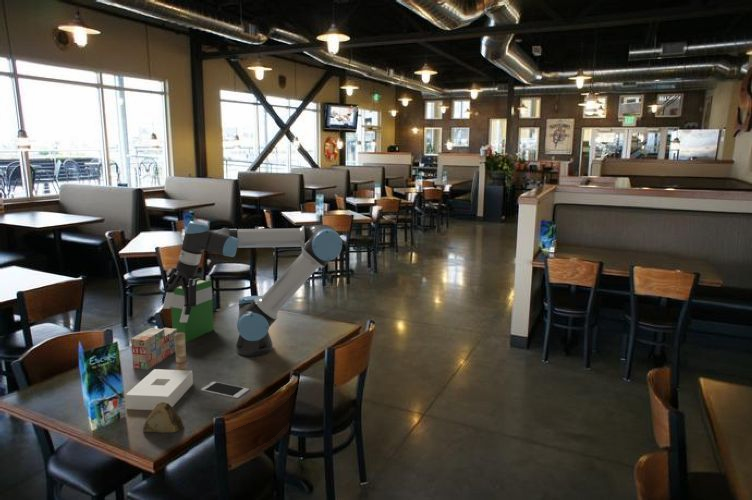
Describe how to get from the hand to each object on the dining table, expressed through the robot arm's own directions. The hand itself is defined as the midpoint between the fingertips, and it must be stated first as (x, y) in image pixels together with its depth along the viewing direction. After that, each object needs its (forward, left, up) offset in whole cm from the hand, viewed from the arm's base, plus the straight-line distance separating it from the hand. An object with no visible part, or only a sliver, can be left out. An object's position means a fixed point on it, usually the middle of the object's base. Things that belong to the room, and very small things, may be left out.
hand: (174, 315), depth 199 cm
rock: (-15, +45, -21) cm, 52 cm away
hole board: (-5, +24, -21) cm, 32 cm away
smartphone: (-25, +18, -22) cm, 37 cm away
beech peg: (-5, +7, -21) cm, 22 cm away
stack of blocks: (+11, -7, -21) cm, 25 cm away
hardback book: (+7, -35, -21) cm, 42 cm away
